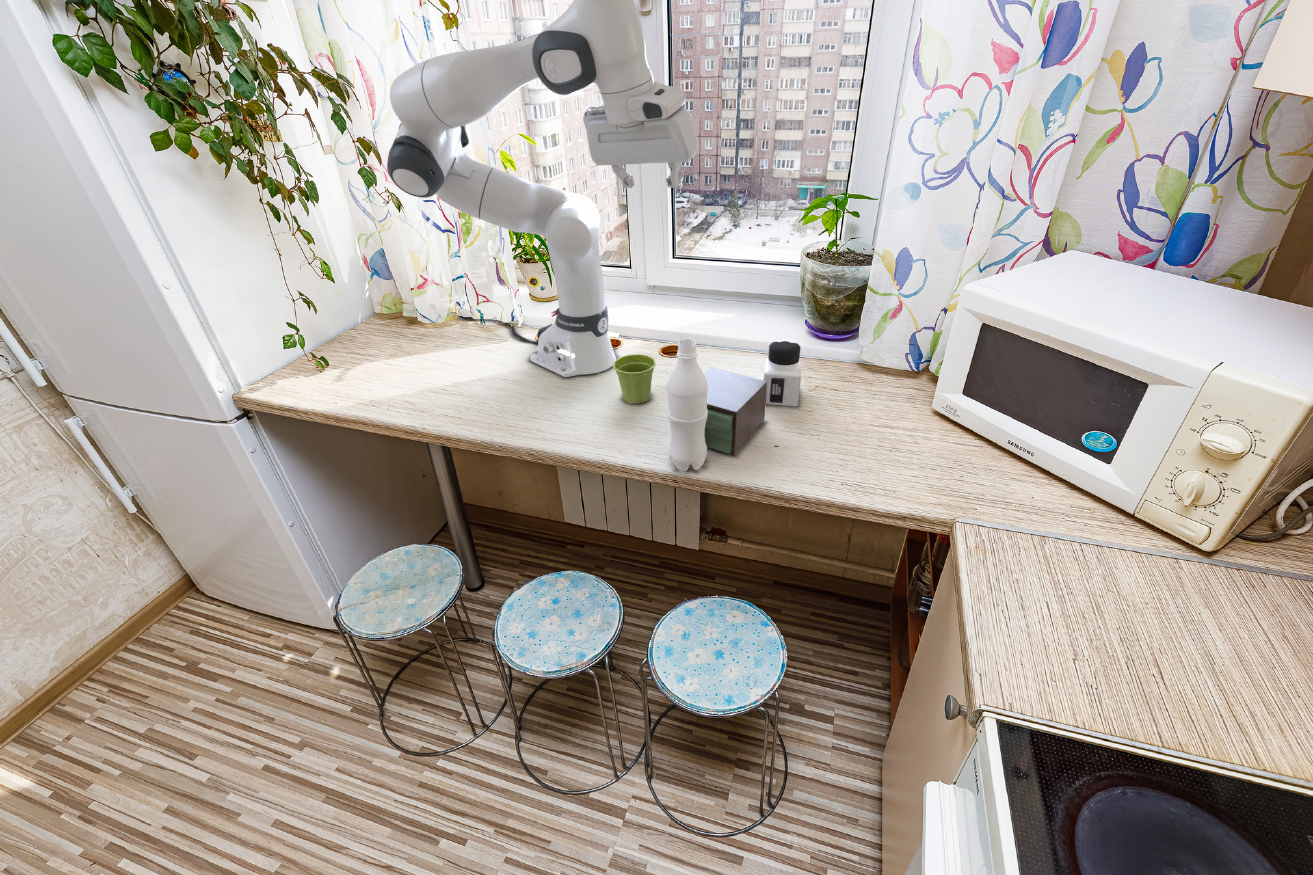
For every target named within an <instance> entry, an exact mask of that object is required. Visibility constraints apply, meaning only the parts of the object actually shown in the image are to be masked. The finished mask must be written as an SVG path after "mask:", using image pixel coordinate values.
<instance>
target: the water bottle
mask: <svg viewBox="0 0 1313 875" xmlns="http://www.w3.org/2000/svg"><path fill="white" fill-rule="evenodd" d="M676 351H677V353H676V357H677V361H676V364H675V366H674V368H673V369H672V371H671V373H670V374H669V377H668V380H667V383H666V390H667V420H668V422H669V426H670V440H669V445H668V456H669V459H670V462H671V463H672V464H673V465H674V466H675V467H676V468H677V469H678V470H679V471H681V472H687V471H688V469H689V467H690V466H691V467H692V468H693V470H694V471H695V470H699V469H701V467H702V466H703V465H704V463H705V461H706V458H707V454H708V447H707V446H706V443H705V434H704V433H705V424H706V420H707V416H708V411H707V389H708V384H707V380H706V377H705V375H704V373H705V372H704V371H703V369H702V368H701V367H700V365H699V362H698V359H697V357H698V351H697V343H696V341H695V339H691V338H684V339H683V338H682V339H680V340H679V341H678V343H677V350H676Z"/></svg>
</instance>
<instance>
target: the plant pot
mask: <svg viewBox="0 0 1313 875" xmlns="http://www.w3.org/2000/svg"><path fill="white" fill-rule="evenodd" d="M656 361H657V360H655V358H653V357H652V356H650V355H647V354H640V353H635V354H633V353H631V354H627V355H623V356H620V357H618V358H616V360H615V361H614V363H613V366H612V368H613V370H615V373H616V375H617V377H618V383H619V386H620V390H621V394H622V399H623V400H624V402H626V403H628V404H632V405H633V404H635V403H636V404H642V403H646V402H648V401H649V400H650V398H651V391H652V382H653V381H652V380H653V372H654V369H655V367H656V365H657V362H656Z"/></svg>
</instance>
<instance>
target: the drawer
mask: <svg viewBox="0 0 1313 875" xmlns="http://www.w3.org/2000/svg"><path fill="white" fill-rule="evenodd" d="M707 411H708V416H707V420H706V424H705V433H704V434H705V443H706V446H707V448H709V447H710V448H709V449H712V448H713V449H712V450H715V449H716V450H715V451H718V450H719V451H718V452H721V453H725V454H727V455H730V454H729V453H730V452H731V451H732V433H733V416H732V415H730V414H727V413H723V412H720V411H716V410H713V409H709V408H707Z"/></svg>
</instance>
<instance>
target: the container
mask: <svg viewBox="0 0 1313 875" xmlns="http://www.w3.org/2000/svg"><path fill="white" fill-rule="evenodd" d="M801 349H802V348H801V345H800V344H799V343H798V342H796V341H794V340H791V339H777V340H773V341H772V342H771V343H770V344H769V346H768V355H767V356H768V357H766V358H765V362H764V371H763V380H764V381H767V392H766V405H769V406H770V405H772V406H784V407H785V406H786V407H798V405H799V398H800V390H801V389H800V388H801V381H802V360H801V359H800V356H801Z"/></svg>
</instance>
